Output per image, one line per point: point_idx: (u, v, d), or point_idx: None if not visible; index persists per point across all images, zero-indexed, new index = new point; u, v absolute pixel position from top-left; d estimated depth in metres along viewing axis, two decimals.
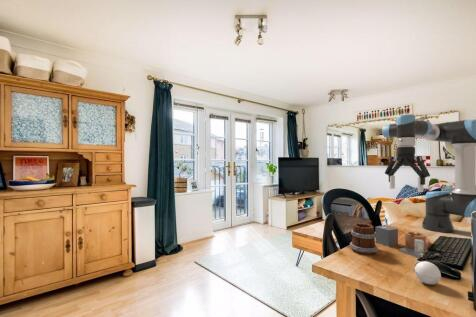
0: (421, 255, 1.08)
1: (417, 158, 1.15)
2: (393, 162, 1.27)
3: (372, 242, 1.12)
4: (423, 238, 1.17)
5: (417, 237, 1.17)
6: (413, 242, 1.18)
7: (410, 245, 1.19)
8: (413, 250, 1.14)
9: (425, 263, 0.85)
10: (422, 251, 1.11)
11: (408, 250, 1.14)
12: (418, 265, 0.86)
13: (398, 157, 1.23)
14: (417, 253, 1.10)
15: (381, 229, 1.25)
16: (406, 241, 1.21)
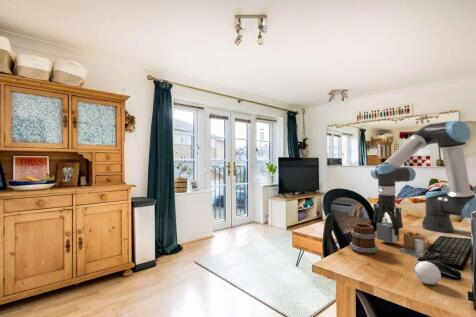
0: (421, 255, 1.08)
1: (396, 210, 1.20)
2: (377, 209, 1.31)
3: (372, 242, 1.12)
4: (422, 238, 1.16)
5: (416, 237, 1.17)
6: (412, 242, 1.18)
7: (409, 245, 1.19)
8: (413, 250, 1.14)
9: (425, 263, 0.85)
10: (422, 251, 1.11)
11: (408, 250, 1.14)
12: (418, 265, 0.86)
13: (379, 203, 1.29)
14: (417, 253, 1.10)
15: (382, 226, 1.25)
16: (405, 241, 1.21)
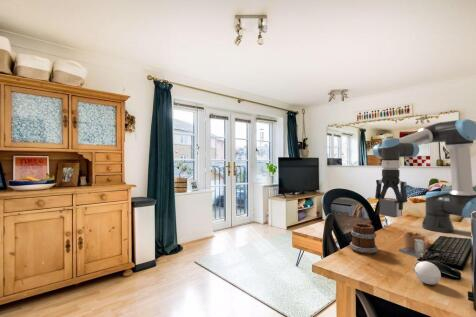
0: (421, 255, 1.08)
1: (402, 183, 1.18)
2: (380, 185, 1.29)
3: (372, 242, 1.12)
4: (421, 238, 1.16)
5: (415, 237, 1.17)
6: (411, 242, 1.18)
7: (408, 245, 1.19)
8: (413, 250, 1.14)
9: (425, 263, 0.85)
10: (422, 251, 1.11)
11: (408, 250, 1.14)
12: (418, 265, 0.86)
13: (383, 179, 1.26)
14: (417, 253, 1.10)
15: (386, 201, 1.23)
16: (404, 241, 1.21)
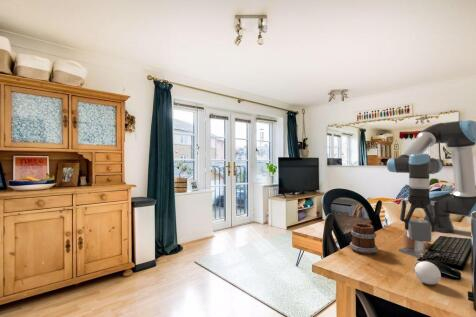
0: (421, 255, 1.08)
1: (436, 204, 1.09)
2: None
3: (372, 242, 1.12)
4: None
5: None
6: (411, 242, 1.17)
7: (408, 245, 1.18)
8: (413, 250, 1.14)
9: (425, 263, 0.85)
10: (422, 251, 1.11)
11: (408, 250, 1.14)
12: (418, 265, 0.86)
13: (411, 199, 1.13)
14: (417, 253, 1.10)
15: (420, 224, 1.10)
16: (404, 241, 1.21)
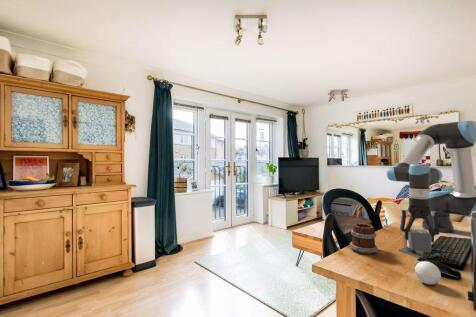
0: (421, 255, 1.08)
1: (436, 214, 1.09)
2: None
3: (372, 242, 1.12)
4: None
5: None
6: None
7: None
8: (413, 250, 1.14)
9: (425, 263, 0.85)
10: (422, 251, 1.11)
11: (408, 250, 1.14)
12: (418, 265, 0.86)
13: (411, 209, 1.13)
14: (417, 253, 1.10)
15: (420, 234, 1.10)
16: (403, 241, 1.21)
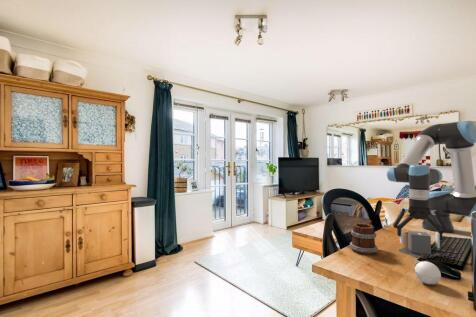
0: (421, 255, 1.08)
1: (436, 213, 1.09)
2: None
3: (372, 242, 1.12)
4: None
5: None
6: None
7: (406, 245, 1.19)
8: None
9: (425, 263, 0.85)
10: None
11: (408, 250, 1.14)
12: (418, 265, 0.86)
13: (412, 210, 1.13)
14: (417, 253, 1.10)
15: (420, 236, 1.10)
16: None
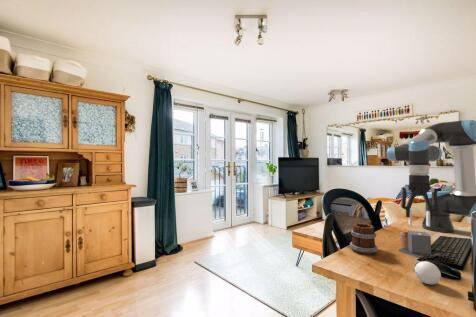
0: (421, 255, 1.08)
1: (436, 190, 1.09)
2: None
3: (372, 242, 1.12)
4: None
5: None
6: (407, 242, 1.18)
7: (405, 245, 1.19)
8: None
9: (425, 263, 0.85)
10: None
11: (408, 250, 1.14)
12: (418, 265, 0.86)
13: (411, 185, 1.13)
14: (417, 253, 1.10)
15: (420, 236, 1.10)
16: (401, 241, 1.21)
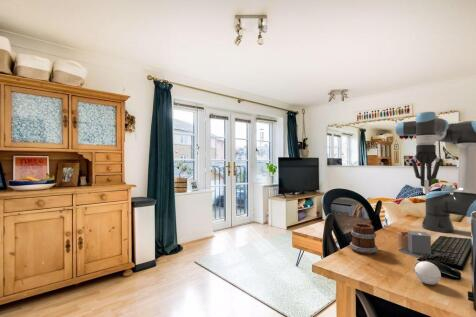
0: (421, 255, 1.08)
1: (440, 160, 1.16)
2: None
3: (372, 242, 1.12)
4: None
5: None
6: (404, 241, 1.19)
7: (401, 244, 1.20)
8: None
9: (425, 263, 0.85)
10: None
11: (408, 250, 1.14)
12: (418, 265, 0.86)
13: (418, 155, 1.19)
14: (417, 253, 1.10)
15: (420, 236, 1.10)
16: (398, 240, 1.22)
